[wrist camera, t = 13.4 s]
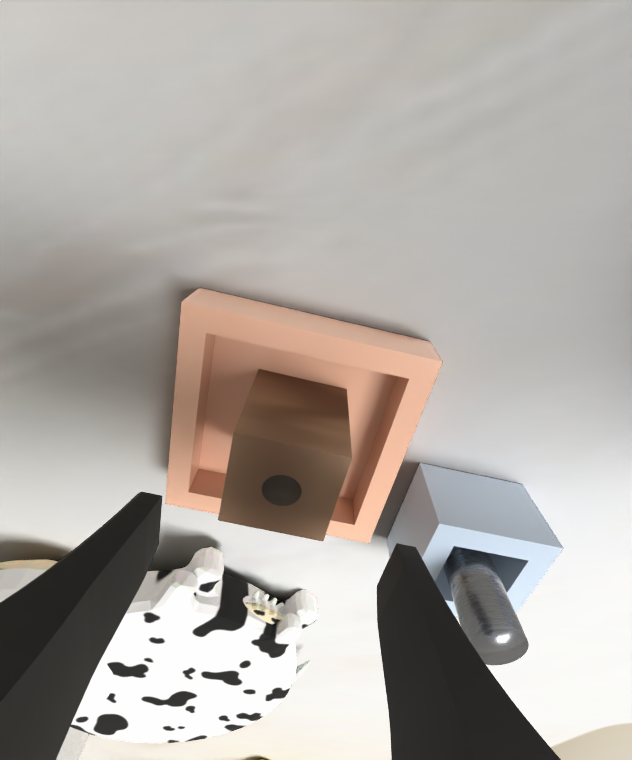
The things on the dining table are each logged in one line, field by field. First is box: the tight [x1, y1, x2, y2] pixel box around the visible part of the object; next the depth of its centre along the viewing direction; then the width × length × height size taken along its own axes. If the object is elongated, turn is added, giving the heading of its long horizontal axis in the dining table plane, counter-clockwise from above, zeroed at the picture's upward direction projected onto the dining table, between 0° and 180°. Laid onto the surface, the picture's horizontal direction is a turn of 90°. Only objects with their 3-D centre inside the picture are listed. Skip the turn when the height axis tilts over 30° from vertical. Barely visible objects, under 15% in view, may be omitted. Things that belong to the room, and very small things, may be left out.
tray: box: [165, 288, 443, 543], centre depth 18 cm, size 10×10×2 cm
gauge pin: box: [443, 546, 528, 665], centre depth 18 cm, size 2×2×7 cm
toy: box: [0, 547, 318, 743], centre depth 25 cm, size 22×5×20 cm
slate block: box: [387, 463, 564, 618], centre depth 20 cm, size 6×6×4 cm
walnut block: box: [218, 369, 352, 541], centre depth 16 cm, size 4×4×5 cm
